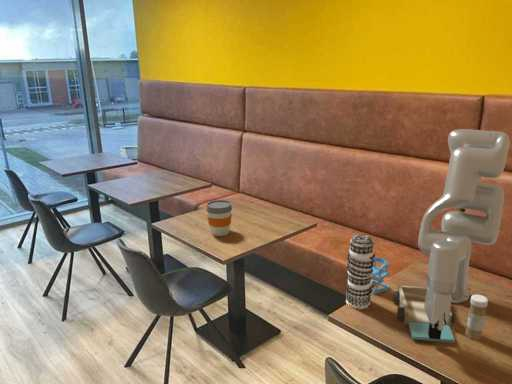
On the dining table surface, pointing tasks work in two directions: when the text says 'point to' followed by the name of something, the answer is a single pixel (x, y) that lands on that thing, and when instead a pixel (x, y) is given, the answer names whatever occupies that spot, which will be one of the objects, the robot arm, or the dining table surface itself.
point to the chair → (380, 275)
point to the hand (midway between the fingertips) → (433, 337)
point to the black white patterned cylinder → (360, 271)
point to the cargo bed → (413, 304)
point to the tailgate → (421, 331)
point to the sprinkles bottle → (476, 316)
